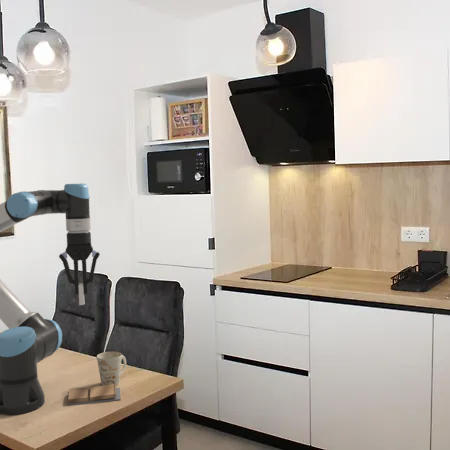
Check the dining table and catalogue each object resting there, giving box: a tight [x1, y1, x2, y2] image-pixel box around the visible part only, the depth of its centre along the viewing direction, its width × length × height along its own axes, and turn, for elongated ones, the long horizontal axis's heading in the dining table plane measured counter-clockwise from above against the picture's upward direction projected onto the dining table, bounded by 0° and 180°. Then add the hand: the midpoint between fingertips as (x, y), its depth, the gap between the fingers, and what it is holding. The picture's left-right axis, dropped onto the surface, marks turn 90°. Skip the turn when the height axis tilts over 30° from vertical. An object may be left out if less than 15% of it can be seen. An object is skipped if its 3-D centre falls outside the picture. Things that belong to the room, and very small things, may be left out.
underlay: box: [67, 387, 121, 406], centre depth 186 cm, size 16×10×1 cm, turn 101°
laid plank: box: [67, 387, 91, 404], centre depth 185 cm, size 6×9×1 cm
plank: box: [89, 384, 117, 401], centre depth 187 cm, size 8×9×1 cm
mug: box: [96, 351, 127, 386], centre depth 199 cm, size 8×13×10 cm, turn 152°
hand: (81, 304), depth 188 cm, fingers closed
